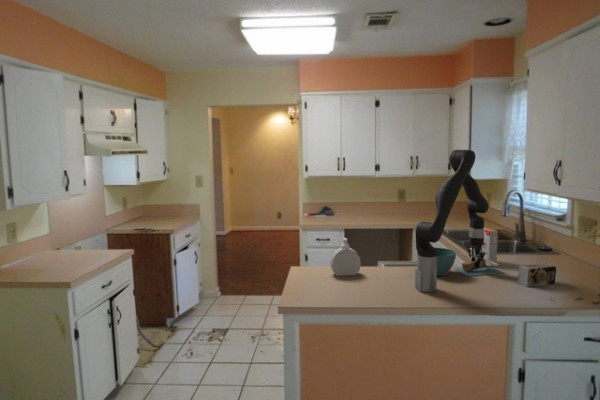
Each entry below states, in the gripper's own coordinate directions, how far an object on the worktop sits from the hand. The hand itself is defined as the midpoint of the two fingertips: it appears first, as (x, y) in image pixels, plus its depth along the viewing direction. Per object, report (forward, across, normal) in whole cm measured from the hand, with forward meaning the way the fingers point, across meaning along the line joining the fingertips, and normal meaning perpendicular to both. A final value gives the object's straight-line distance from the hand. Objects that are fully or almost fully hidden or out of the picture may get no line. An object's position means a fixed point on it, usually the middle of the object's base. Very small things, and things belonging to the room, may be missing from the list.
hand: (475, 266), depth 217 cm
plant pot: (+3, -2, -21) cm, 21 cm away
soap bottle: (+3, -11, -70) cm, 71 cm away
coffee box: (-1, +24, +10) cm, 26 cm away
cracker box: (+3, -14, +14) cm, 20 cm away
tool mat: (+3, 0, +2) cm, 4 cm away
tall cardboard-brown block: (+1, 0, +2) cm, 3 cm away
